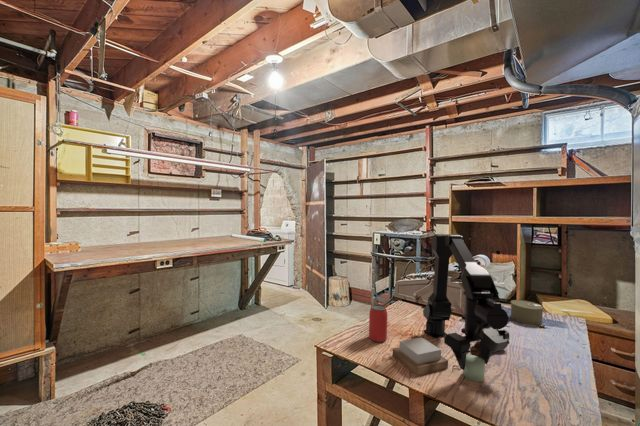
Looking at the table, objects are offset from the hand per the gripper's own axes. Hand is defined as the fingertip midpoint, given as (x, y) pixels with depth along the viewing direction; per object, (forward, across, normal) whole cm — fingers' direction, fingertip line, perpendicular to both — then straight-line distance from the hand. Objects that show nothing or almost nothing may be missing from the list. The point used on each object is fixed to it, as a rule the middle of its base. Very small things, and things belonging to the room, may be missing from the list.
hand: (473, 366), depth 87 cm
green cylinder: (+3, 0, 0) cm, 3 cm away
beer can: (+3, -14, +30) cm, 33 cm away
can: (+3, +60, +24) cm, 65 cm away
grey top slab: (+1, -10, +12) cm, 16 cm away
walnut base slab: (+4, -10, +12) cm, 16 cm away
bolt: (+3, +16, +9) cm, 19 cm away
